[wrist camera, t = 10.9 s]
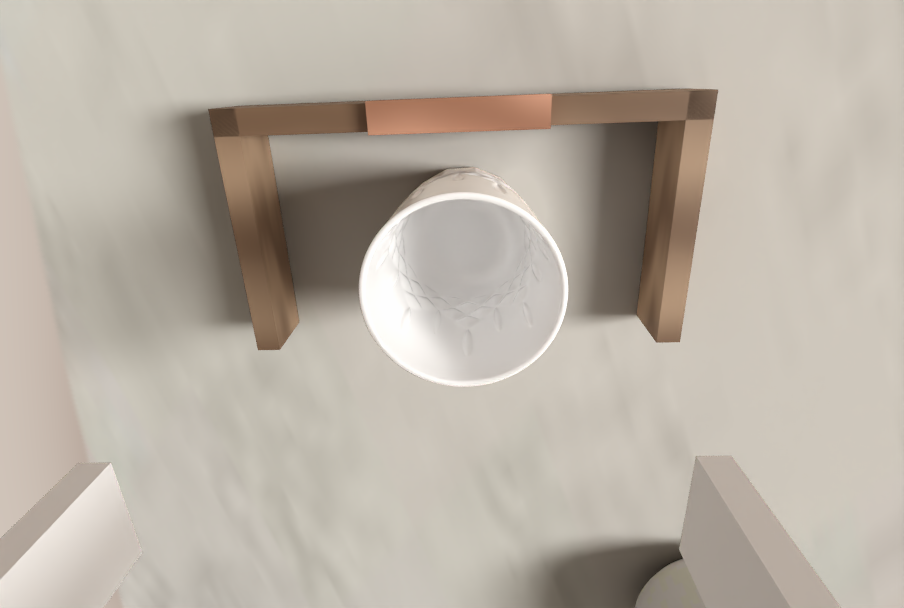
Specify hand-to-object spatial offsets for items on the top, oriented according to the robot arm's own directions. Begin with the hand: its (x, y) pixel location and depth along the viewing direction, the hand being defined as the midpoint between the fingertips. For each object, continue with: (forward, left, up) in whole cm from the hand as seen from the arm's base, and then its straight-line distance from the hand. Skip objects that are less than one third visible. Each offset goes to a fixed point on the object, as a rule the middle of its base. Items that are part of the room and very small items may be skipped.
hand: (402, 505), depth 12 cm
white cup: (+1, -1, -19) cm, 19 cm away
